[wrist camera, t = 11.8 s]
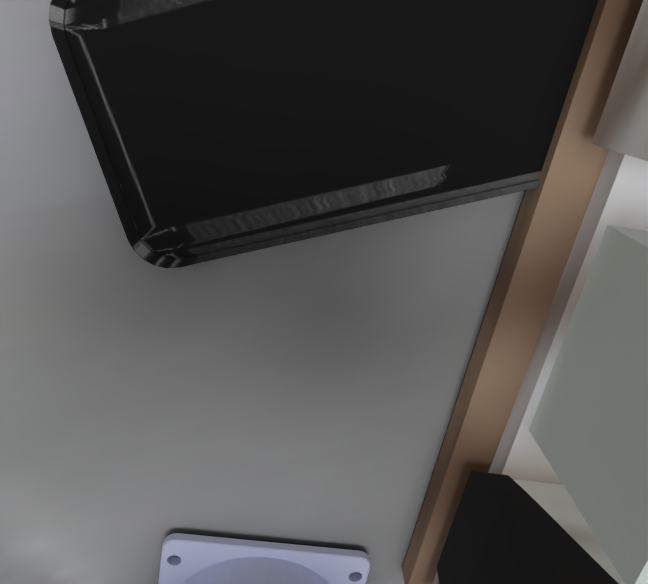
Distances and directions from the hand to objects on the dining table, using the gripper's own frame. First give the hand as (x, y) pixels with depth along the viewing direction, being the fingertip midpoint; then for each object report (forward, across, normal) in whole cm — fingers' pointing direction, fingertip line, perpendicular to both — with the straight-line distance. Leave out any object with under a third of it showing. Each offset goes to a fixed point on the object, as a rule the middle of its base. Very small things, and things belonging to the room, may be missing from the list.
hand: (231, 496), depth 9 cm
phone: (+10, -2, -6) cm, 12 cm away
